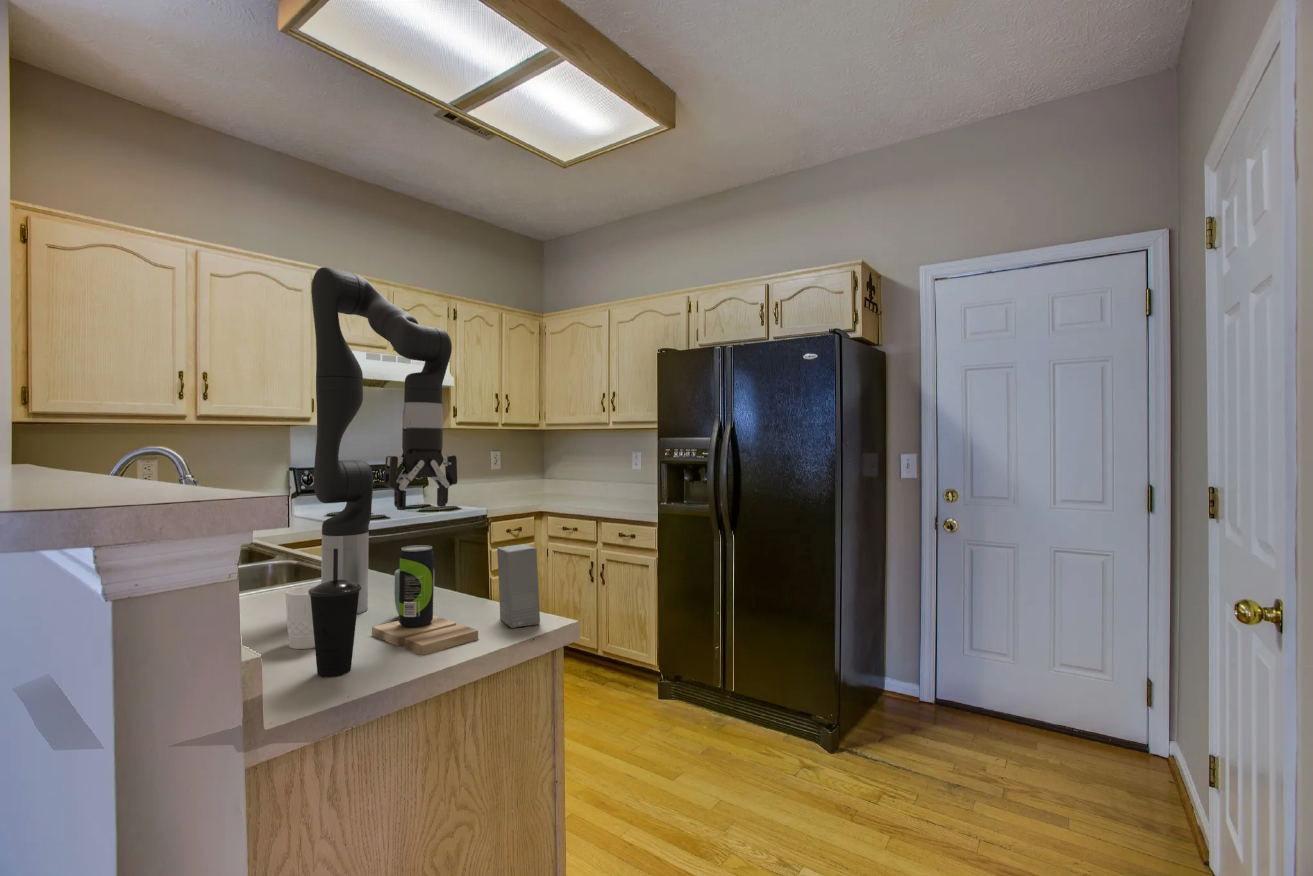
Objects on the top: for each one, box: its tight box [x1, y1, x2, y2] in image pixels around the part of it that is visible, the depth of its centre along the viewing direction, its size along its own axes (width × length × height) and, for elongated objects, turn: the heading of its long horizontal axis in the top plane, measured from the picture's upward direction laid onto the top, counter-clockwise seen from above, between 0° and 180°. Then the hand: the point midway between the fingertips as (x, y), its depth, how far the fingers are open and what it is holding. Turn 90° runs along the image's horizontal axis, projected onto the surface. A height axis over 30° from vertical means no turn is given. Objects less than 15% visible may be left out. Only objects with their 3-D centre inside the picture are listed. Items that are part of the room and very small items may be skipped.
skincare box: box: [496, 543, 541, 629], centre depth 129 cm, size 8×7×16 cm
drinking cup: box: [308, 549, 361, 679], centre depth 100 cm, size 8×8×20 cm
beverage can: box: [398, 544, 435, 628], centre depth 121 cm, size 6×6×15 cm
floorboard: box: [401, 623, 479, 656], centre depth 115 cm, size 7×12×2 cm, turn 140°
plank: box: [371, 614, 457, 647], centre depth 120 cm, size 10×12×2 cm
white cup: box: [285, 584, 318, 650], centre depth 114 cm, size 8×8×10 cm
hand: (421, 508), depth 122 cm, fingers open, 8 cm apart
